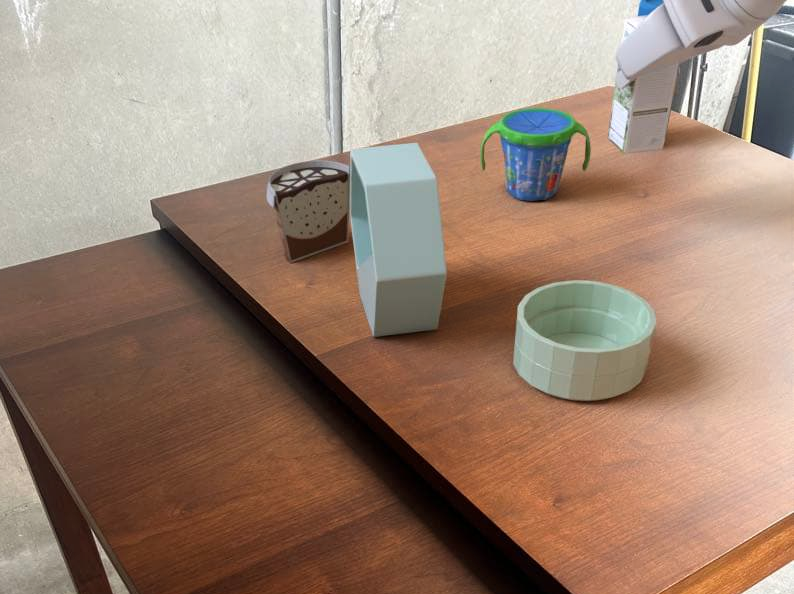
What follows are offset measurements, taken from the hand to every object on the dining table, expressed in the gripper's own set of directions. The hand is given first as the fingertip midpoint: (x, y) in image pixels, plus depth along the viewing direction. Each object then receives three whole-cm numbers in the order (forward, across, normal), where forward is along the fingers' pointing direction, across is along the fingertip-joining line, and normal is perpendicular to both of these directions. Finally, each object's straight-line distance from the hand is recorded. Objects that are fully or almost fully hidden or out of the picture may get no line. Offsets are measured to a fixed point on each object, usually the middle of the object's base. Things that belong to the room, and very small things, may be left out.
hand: (642, 74), depth 109 cm
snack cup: (+23, +3, +3) cm, 23 cm away
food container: (+30, +37, -3) cm, 48 cm away
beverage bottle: (+24, -24, +2) cm, 34 cm away
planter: (+15, +39, +12) cm, 44 cm away
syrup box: (+6, 0, +6) cm, 9 cm away
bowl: (-1, +32, +28) cm, 43 cm away
